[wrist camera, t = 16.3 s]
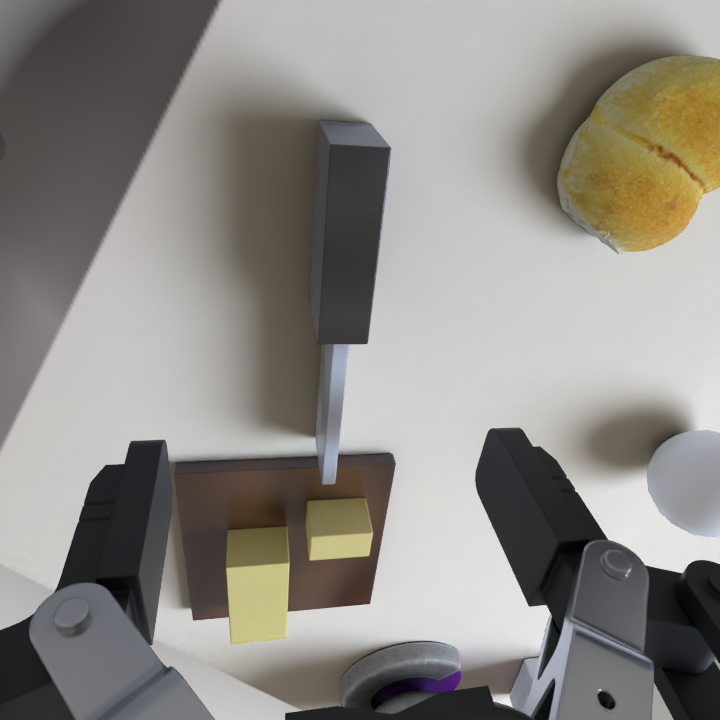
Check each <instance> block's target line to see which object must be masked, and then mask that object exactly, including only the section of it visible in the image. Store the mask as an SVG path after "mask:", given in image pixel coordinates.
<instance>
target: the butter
mask: <svg viewBox="0 0 720 720" xmlns="http://www.w3.org/2000/svg"><path fill="white" fill-rule="evenodd" d="M226 576H227V592H228V607H229V623H230V639H231V644H238V643H247V642H257V641H267V640H276V639H286V635H287V611H288V586H289V548H288V532H287V526H283V527H267V528H252V529H237V530H228V535H227V557H226Z"/></svg>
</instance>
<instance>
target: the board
mask: <svg viewBox="0 0 720 720" xmlns="http://www.w3.org/2000/svg"><path fill="white" fill-rule="evenodd" d="M395 465H396V463H395V460H394V456H393V454H374V455H351V456H338V460H337V470H336V480H335V484H326V485H322V483H321V476H320V468H319V461H318V457H304V458H280V459H256V460H233V461H209V462H185V463H176V466H175V472H174V477H175V484H176V492H177V500H178V508H179V515H180V523H181V531H182V538H183V546H184V554H185V562H186V569H187V577H188V585H189V593H190V600H191V608H192V616H193V620H204V619H214V618H225V617H229V607H228V592H227V576H226V557H227V535H228V530H237V529H252V528H267V527H283V526H287V532H288V548H289V586H288V611H287V612H289V611H299V610H310V609H321V608H331V607H342V606H353V605H363V604H370V600H371V595H372V590H373V584H374V579H375V573H376V568H377V563H378V557H379V552H380V546H381V541H382V536H383V530H384V525H385V519H386V514H387V508H388V503H389V498H390V492H391V487H392V481H393V476H394V471H395ZM350 498H366V503H367V507H368V512H369V516H370V521H371V526H372V530H373V536H372V542H371V548H370V554H369V556H363V557H350V558H336V559H323V560H309V553H308V543H307V532H306V512H307V501H314V500H332V499H350Z"/></svg>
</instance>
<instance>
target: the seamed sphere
mask: <svg viewBox="0 0 720 720" xmlns="http://www.w3.org/2000/svg"><path fill="white" fill-rule="evenodd" d="M647 483H648V491H649V493H650V495H651V497H652V499H653V501H654V503H655V504H656V506H657V508H658V510H659V512H660V513H661V514H662V515H663V516H665V517H666V518H667V519H668V520H669V521H670V522H671V523H672V524H674V525H676V526H677V527H679V528H681V529H683V530H685V531H687V532H689V533H691V534H693V535H699V536H706V537H713V538H720V433H718V432H713V431H709V430H705V431H691V432H684V433H681V434H678V435H675V436H673V437H672V438H670V439H668V440H667V441H665V442H664V443H663V444H661V445H660V446H659V448H658V449H657V450H656V451H655V452H654V454H653V457H652V459H651V461H650V464H649V466H648V469H647Z"/></svg>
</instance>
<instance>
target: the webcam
mask: <svg viewBox="0 0 720 720" xmlns="http://www.w3.org/2000/svg"><path fill="white" fill-rule="evenodd" d="M460 669H461V658H460V655H459V652H458V650H457V649H455V648H453V647H451V646H449V645H445V644H441V643H432V642H416V643H407V644H401V645H396V646H393V647H389V648H386V649H383V650H380V651H377V652H375V653H373V654H371V655H369V656H367V657H365V658H363V659H361V660H360V661H358V662H357V663H356V664H354V665H353V666H352V667H351V668H350V669H349V670H348V671H347V672H346V673H345V674H344V675H343V677H342V679H341V681H340V684H339V694H340V700H341V705H342V707H347V708H354V709H360V710H367V711H374V712H381V713H387V714H393V713H397V712H400V711H402V710H404V709H406V708H408V707H410V706H413V705H415V704H417V703H419V702H421V701H423V700H425V699H427V698H430V697H432V696H434V695H436V694H438V693H440V692H446V691H453V690H454V689H455V688H456V686H457V685H458V683H459V681H460V678H461V673H460Z"/></svg>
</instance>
